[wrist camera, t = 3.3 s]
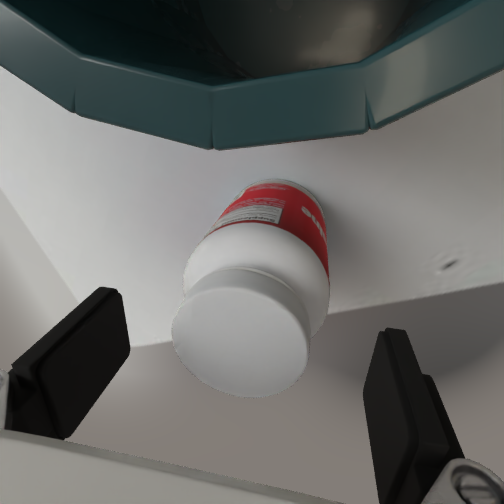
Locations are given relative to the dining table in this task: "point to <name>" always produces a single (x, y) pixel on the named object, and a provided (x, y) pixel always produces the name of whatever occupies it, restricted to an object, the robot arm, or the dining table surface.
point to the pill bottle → (255, 292)
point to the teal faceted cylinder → (250, 62)
